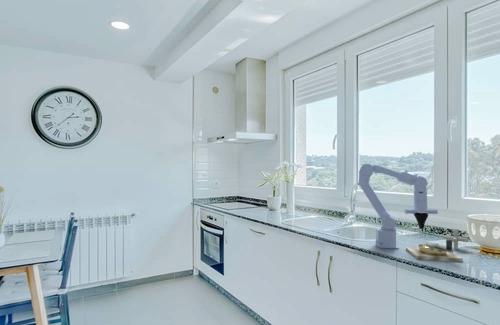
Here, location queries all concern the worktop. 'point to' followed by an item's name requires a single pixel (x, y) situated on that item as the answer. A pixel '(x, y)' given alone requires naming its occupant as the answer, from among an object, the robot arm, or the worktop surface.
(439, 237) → the worktop surface
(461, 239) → the pipe connector
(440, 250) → the crank handle
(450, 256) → the beige flat board
